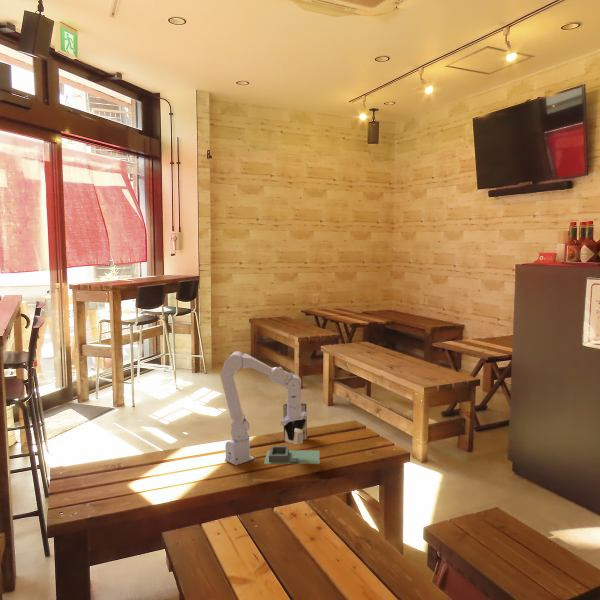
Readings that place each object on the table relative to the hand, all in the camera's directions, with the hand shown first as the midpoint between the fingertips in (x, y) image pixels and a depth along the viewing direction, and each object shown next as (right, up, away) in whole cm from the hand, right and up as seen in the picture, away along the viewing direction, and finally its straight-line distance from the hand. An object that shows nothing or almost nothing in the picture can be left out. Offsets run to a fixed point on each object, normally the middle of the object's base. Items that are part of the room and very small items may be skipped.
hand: (294, 438), depth 202 cm
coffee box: (0, -7, +25) cm, 26 cm away
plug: (0, -2, 0) cm, 2 cm away
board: (-1, -9, +1) cm, 9 cm away
